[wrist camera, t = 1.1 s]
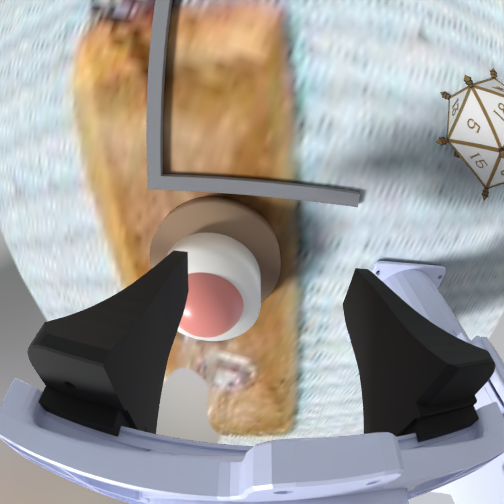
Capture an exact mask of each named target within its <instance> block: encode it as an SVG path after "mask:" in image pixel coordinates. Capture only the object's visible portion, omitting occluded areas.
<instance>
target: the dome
mask: <svg viewBox="0 0 504 504" xmlns="http://www.w3.org/2000/svg"><path fill="white" fill-rule="evenodd" d="M174 250H175V251H185V252H188V286H189V291H188V296H187V301H186V305H185V310H184V313H183V316H182V319H181V321H180V324H179V327H178V330H177V331H178V332H180V333H182V334H184V335H186V336H189V337H192V338H196V339H200V340H206V341H220V340H227V339H231V338H234V337H237V336H239V335H241V334H243V333H244V332H246V331H247V330H248V329H249V328H251V327H252V325H253V324H254V323H255V321H256V320H257V318H258V316H259V313H260V306H261V275H260V268H259V265H258V263H257V260H256V258H255V257H254V255H253V254H252V253H251V252H250V250H249V249H248V248H247V247H245V246H244V245H243V244H242V243H240V242H239V241H237V240H235V239H233V238H231V237H229V236H226V235H222V234H218V233H197V234H192V235H189V236H187V237H185V238H183V239H181V240H179V241H178V242H177V243H175V245H174V246H173V247H172V248H171V249H170V250H169V252H168V254H167V255H169V254H170V253H171V252H172V251H174Z"/></svg>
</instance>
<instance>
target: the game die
mask: <svg viewBox="0 0 504 504" xmlns="http://www.w3.org/2000/svg"><path fill="white" fill-rule="evenodd" d="M490 72H491V76H492V78H490V79H486V80H483V81H480V82H477V83H474V84H473V81H472V80H471V77H468V76H466V75H465V78H464V81H465V82H466V84H467V85H468V86H467V87H466V88H464V89H462V90H460V91H459V92H457V93H455V94H454V95H452V96H449V94H448V93H446V92H440V93H441V95H442V98H445V99H448V100H449V111H448V128H447V137H446V138H444V137H442V138H440V137H439V140H438V141H437V142H436V143H438V144H440V145H443V144H444V145H445V144H446V143H449V144H450V146H451V147H452V148H453V149H454V150H455V152H454V156H456V157H458V158H459V156H460V157H461V158H462V159H463V161H464V162H465V163H466V164H467V165H468V167H469V168H470V169H471V170H472V172H473V173H474V174H475V175H476V177H477V178H478V179H479V181H480V182H481V183H482V185H483V186H484V190H482V191H483V193H482V196H483V199H484V200H485V199H486V198H487V197H488V193H489V192H488V189H489V188H492V187H495V186H498V185H501V184H504V85H503V84H502V83H501V82H499V81H498V80H496V77H497V75H496V74H497V73H496V71H495V70H494V68H493V69H492V70H491V71H490Z"/></svg>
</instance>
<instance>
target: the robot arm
mask: <svg viewBox="0 0 504 504" xmlns="http://www.w3.org/2000/svg"><path fill="white" fill-rule="evenodd" d="M379 270H380V271H379ZM377 271H379V272H378V273H376V272H377ZM445 273H446V269H445V267H444V266H436V265H425V264H413V263H401V262H390V261H378V262H376V263H375V265H374V267H373V270H372V272H371V271H369V270H368V269H358V268H356V269H355V271H354V274H353V277H352V280H351V283H350V286H349V289H348V291H347V294H346V297H345V300H344V302H343V309H344V316H345V322H346V326H347V330H348V335H347V340H348V341H351V343H352V347H353V350H354V353H355V357H356V360H357V364H358V369H359V374H360V381H361V388H362V399H363V413H364V434H360V435H350V436H339V437H325V438H297V439H282V440H272V441H268V442H264V443H260V444H257V445H255V446H239V445H227V444H217V443H208V442H200V441H193V440H186V439H180V438H174V437H168V436H163V435H158V434H156V427H157V418H158V411H159V404H160V397H161V391H162V386H163V380H164V375H165V370H166V365H167V361H168V357H169V353H170V350H171V347H172V344H173V341H174V338H175V336H176V333H177V330H178V327H179V324H180V321H181V319H182V316H183V313H184V310H185V305H186V301H187V296H188V291H189V286H188V252H185V251H175V250H174V251H172V252H171V253H170V254H169V255H167V256H166V257H165V258H164V259H163V260H162V261H160V262H159V263H158V264H157V265H156V266H154V267H153V268H152V269H151V270H150V271H148V272H147V273H146V274H145V275H143V276H142V277H141V278H139V279H138V280H137V281H135V282H134V283H133V284H131V285H130V286H128V287H127V288H125V289H124V290H122V291H120V292H119V293H117V294H115V295H114V296H112V297H110V298H108V299H106V300H104V301H102V302H100V303H98V304H96V305H94V306H92V307H90V308H87V309H85V310H83V311H80V312H77V313H75V314H72V315H69V316H66V317H62V318H59V319H55V320H52V321H48V322H45V323H44V324H43V326H42V328H41V329H40V330H39V332H38V333H37V335H36V337H35V338H34V340H33V341H32V343H31V345H30V346H29V348H28V356H29V359H30V362H31V364H32V365H33V367H34V369H35V370H36V372H37V373H38V374H39V376H40V378H41V379H42V381H43V382H44V383H45V385H46V387H45V389H44V391H43V392H42V391H41V390H39V389H38V388H36V387H34V386H32V385H30V384H28V383H26V382H23V381H21V380H19V379H17V378H14V380H13V381H12V383H11V385H10V387H9V389H8V391H7V393H6V395H5V397H4V399H3V401H2V403H1V405H0V439H1V440H3V441H4V442H5V443H6V444H8V445H9V446H10V447H11V448H13V449H14V450H15V451H17V452H18V453H19V454H21V455H22V456H23V457H25V458H27V459H28V460H30V461H32V462H34V463H36V464H38V465H39V466H41V467H43V468H45V469H47V470H49V471H51V472H53V473H55V474H57V475H59V476H61V477H63V478H65V479H68V480H70V481H72V482H74V483H76V484H79V485H81V486H83V487H86V488H88V489H91V490H93V491H96V492H98V493H101V494H104V495H107V496H110V497H112V498H115V499H118V500H121V501H124V502H127V503H131V504H409V503H408V499H411V498H414V497H417V496H419V495H422V494H425V493H427V492H436V493H444V494H449V495H451V496H452V499H453V501H454V503H455V504H504V363H503V361H502V359H501V358H500V356H499V354H498V353H497V351H496V350H495V348H494V347H493V345H492V344H491V342H490V341H489V339H488V338H487V337H480V336H475V338H474V339H473V340H472V341H471V340H470V339H469V338H468V336H467V334H466V333H465V331H464V329H463V328H462V326H461V324H460V323H459V321H458V320H457V318H456V316H455V315H454V313H453V312H452V310H451V309H450V307H449V305H448V304H447V302H446V301H445V299H444V298H443V296H442V295H441V293H440V292H439V291H438V288H439V286H440V284H441V281H442V279H443V277H444V275H445ZM439 275H440V276H439ZM438 276H439V277H438Z"/></svg>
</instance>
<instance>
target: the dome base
mask: <svg viewBox="0 0 504 504" xmlns="http://www.w3.org/2000/svg"><path fill="white" fill-rule="evenodd" d="M197 233H218V234H222V235H226V236H229V237H231V238H233V239H235V240H237V241H239V242H240V243H242V244H243V245H244V246H245V247H247V248H248V249H249V250H250V252H251V253H252V254H253V255H254V257H255V258H256V260H257V263H258V265H259V268H260V275H261V303H262V302H263V301H264V300H265V299H266V298H268V296H269V295H270V294H271V293H272V291H273V290H274V288H275V287H276V284H277V282H278V280H279V276H280V270H281V259H280V250H279V244H278V240H277V237H276V235H275V232H274V231H273V229H272V227H271V226H270V224H269V223H268V222H267V220H266V219H265V218H264V217H263V216H262V215H261V214H260V213H258V212H257V211H256V210H254V209H253V208H251V207H250V206H248V205H246V204H244V203H242V202H239V201H237V200H234V199H230V198H225V197H215V196H208V197H200V198H196V199H192V200H190V201H187V202H185V203H183V204H181V205H179V206H178V207H176V208H175V209H174V210H172V211H171V212H170V213H169V214H168V215H167V216H166V218H165V219H164V221H163V222H162V224H161V225H160V227H159V228H158V230H157V231H156V233H155V235H154V237H153V239H152V243H151V247H150V264H151V268H153V267H154V266H156V265H157V264H158V263H159V262H160V261H162V260H163V259H164V258H165V257H166V256H167V254H168V252H169V250H170V249H171V248H172V247H173V246H174V245H175V243H177V242H178V241H179V240H181V239H183V238H185V237H187V236H189V235H192V234H197Z"/></svg>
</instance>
